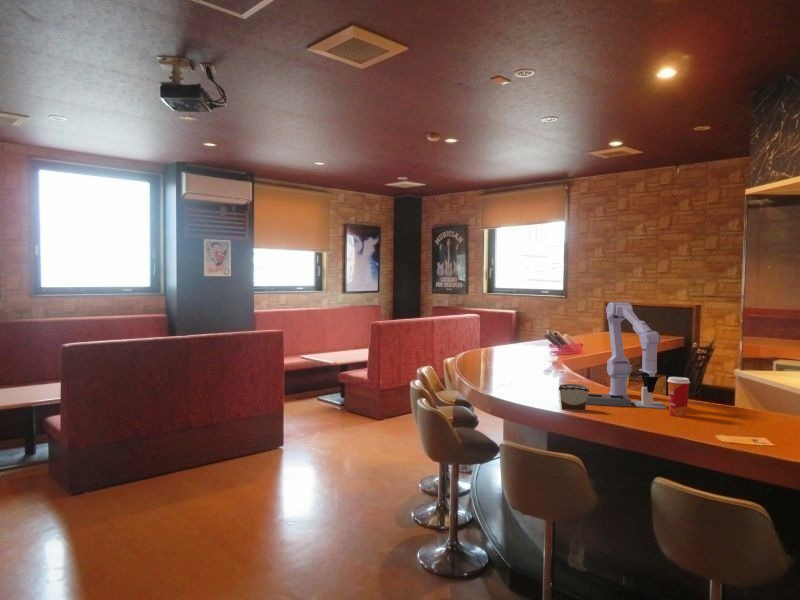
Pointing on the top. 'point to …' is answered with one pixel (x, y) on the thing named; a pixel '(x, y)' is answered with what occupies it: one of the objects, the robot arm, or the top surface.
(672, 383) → the coffee cup
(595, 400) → the metal frame
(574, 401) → the food container
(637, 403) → the rubber pad
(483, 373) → the top surface
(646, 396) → the ivory plug
